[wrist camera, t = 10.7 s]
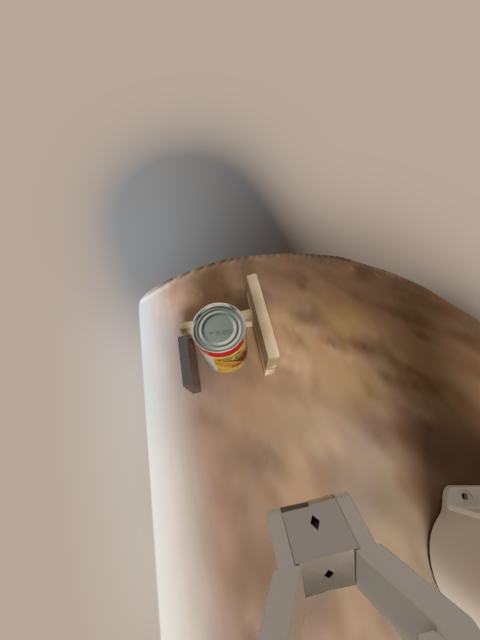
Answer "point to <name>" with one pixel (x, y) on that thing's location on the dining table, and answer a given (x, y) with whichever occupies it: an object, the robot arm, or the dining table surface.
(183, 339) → the bookend
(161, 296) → the dining table surface
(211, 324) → the canned food
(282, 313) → the dining table surface
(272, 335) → the shelf wall
